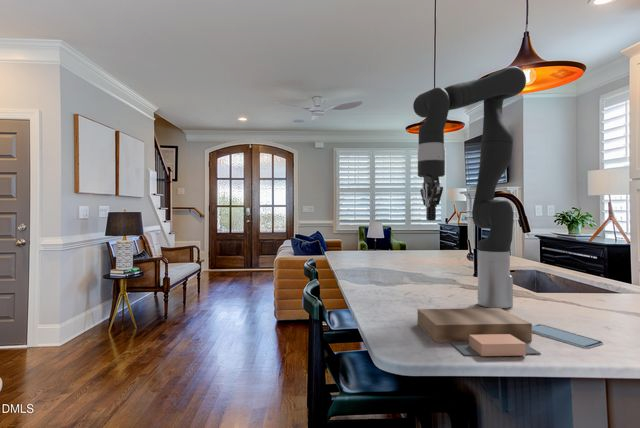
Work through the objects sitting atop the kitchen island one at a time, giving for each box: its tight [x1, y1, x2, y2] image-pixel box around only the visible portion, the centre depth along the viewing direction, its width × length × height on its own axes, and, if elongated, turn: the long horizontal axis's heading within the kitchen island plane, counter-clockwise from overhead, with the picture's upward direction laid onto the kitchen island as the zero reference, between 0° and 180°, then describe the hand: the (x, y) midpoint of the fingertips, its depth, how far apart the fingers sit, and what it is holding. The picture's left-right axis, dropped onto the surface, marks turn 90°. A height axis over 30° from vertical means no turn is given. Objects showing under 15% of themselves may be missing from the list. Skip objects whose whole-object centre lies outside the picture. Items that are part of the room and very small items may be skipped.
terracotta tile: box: [469, 334, 527, 357], centre depth 80 cm, size 9×6×2 cm, turn 92°
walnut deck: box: [417, 307, 533, 344], centre depth 93 cm, size 22×14×4 cm, turn 93°
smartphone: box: [532, 323, 604, 349], centre depth 90 cm, size 7×1×15 cm
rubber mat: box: [449, 342, 542, 357], centre depth 82 cm, size 16×8×1 cm, turn 93°
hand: (431, 220), depth 110 cm, fingers closed
